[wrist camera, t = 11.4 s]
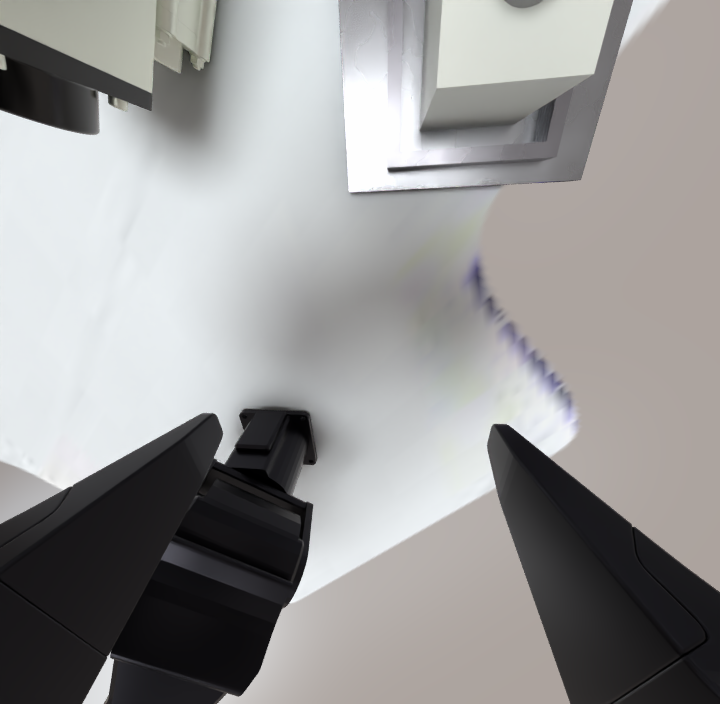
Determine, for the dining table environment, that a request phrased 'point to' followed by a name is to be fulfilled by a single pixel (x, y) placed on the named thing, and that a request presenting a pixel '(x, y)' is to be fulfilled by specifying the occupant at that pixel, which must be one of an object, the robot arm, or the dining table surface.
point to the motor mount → (453, 146)
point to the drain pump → (504, 57)
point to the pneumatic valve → (94, 54)
